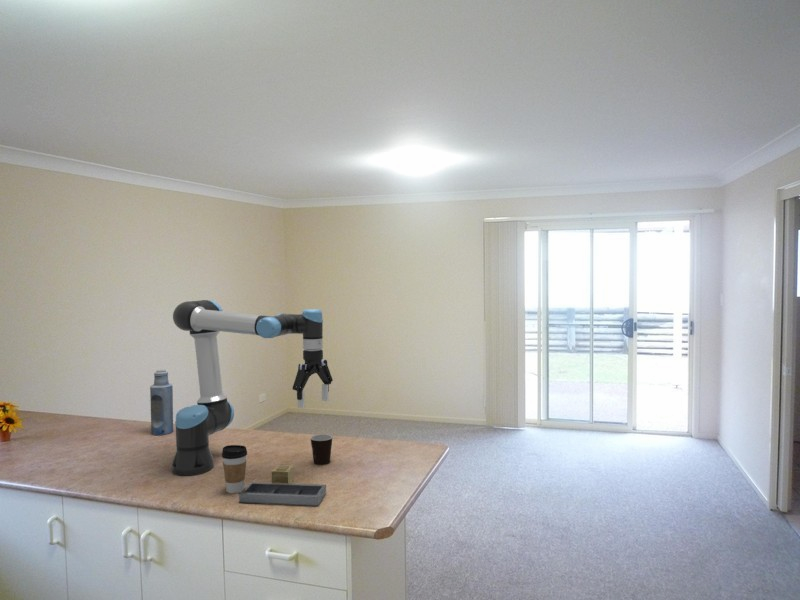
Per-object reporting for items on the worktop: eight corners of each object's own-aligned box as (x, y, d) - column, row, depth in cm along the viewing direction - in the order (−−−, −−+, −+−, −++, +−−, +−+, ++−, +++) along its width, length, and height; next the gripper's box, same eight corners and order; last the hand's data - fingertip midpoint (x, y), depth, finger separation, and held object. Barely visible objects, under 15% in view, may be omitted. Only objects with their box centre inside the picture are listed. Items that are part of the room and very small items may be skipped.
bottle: (146, 435, 248) (144, 371, 247) (159, 429, 258) (157, 368, 256) (165, 436, 246) (163, 372, 245) (177, 430, 256) (175, 368, 255)
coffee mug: (328, 466, 205) (328, 441, 204) (307, 465, 206) (307, 440, 206) (338, 456, 216) (337, 432, 216) (318, 455, 218) (317, 431, 217)
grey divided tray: (239, 502, 172) (239, 493, 172) (251, 490, 182) (251, 482, 182) (318, 506, 169) (318, 497, 169) (326, 493, 179) (325, 484, 179)
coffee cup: (225, 485, 187) (224, 443, 186) (250, 484, 188) (249, 443, 187) (219, 495, 179) (218, 451, 178) (245, 494, 179) (244, 450, 179)
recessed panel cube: (271, 488, 185) (271, 470, 184) (277, 481, 191) (277, 464, 190) (288, 488, 184) (288, 471, 184) (293, 482, 190) (293, 464, 190)
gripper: (297, 354, 190) (298, 412, 191) (341, 346, 211) (341, 398, 212) (282, 352, 194) (283, 409, 195) (326, 345, 215) (327, 396, 216)
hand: (313, 404), depth 203 cm, fingers open, 13 cm apart
